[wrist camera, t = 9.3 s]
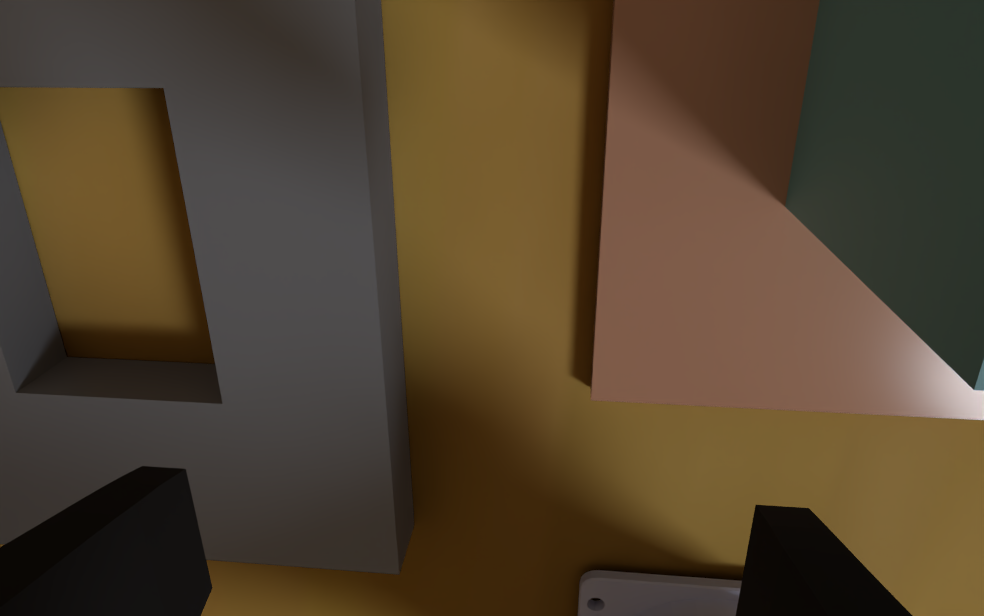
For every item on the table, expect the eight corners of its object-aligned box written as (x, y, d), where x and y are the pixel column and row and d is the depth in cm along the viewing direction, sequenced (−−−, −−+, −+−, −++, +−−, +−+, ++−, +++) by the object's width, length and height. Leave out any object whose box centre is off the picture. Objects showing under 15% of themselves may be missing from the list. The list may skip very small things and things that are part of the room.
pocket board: (414, 524, 21) (399, 574, 19) (-15, 495, 22) (-67, 538, 21) (368, -198, 14) (336, -228, 12) (-262, -175, 15) (-377, -200, 13)
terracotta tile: (1078, 412, 17) (1095, 425, 17) (590, 388, 18) (590, 400, 18) (1421, -468, 11) (1465, -493, 10) (638, -417, 12) (641, -437, 12)
